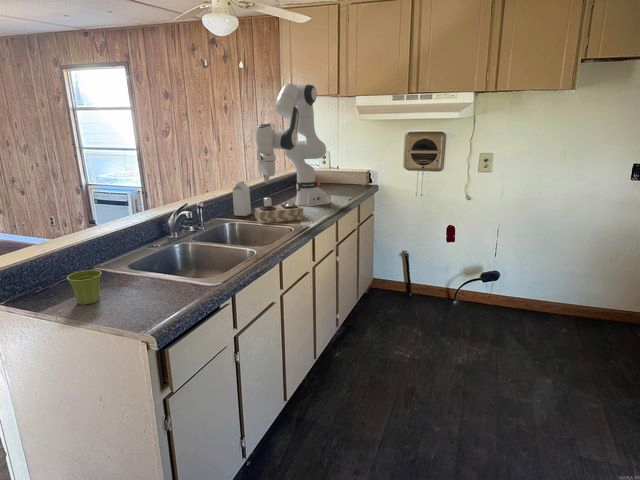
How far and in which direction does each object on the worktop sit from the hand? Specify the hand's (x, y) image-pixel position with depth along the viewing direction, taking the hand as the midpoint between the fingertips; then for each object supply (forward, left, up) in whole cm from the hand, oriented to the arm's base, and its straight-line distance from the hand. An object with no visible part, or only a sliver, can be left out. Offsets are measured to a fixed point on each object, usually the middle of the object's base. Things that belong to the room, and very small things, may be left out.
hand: (266, 182), depth 231 cm
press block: (-6, 0, -20) cm, 21 cm away
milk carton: (+10, -19, -20) cm, 30 cm away
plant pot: (+80, +81, -20) cm, 115 cm away
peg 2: (-12, 0, -20) cm, 23 cm away
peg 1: (0, 0, -15) cm, 15 cm away
